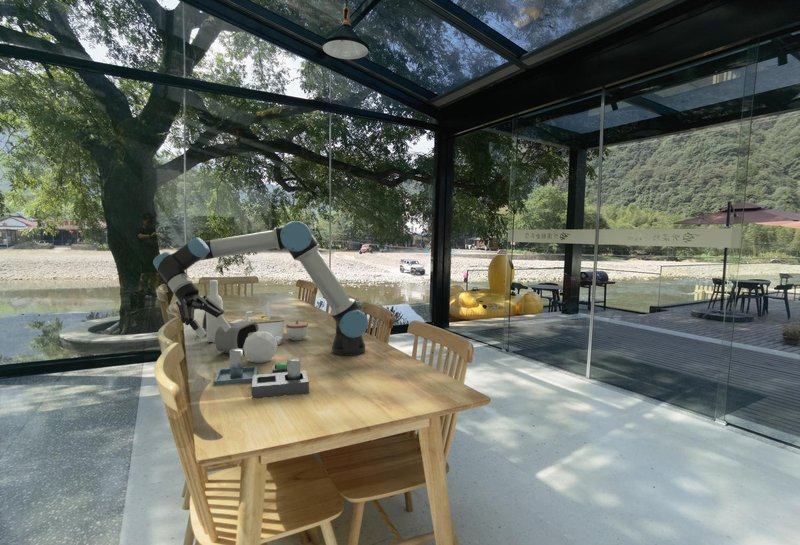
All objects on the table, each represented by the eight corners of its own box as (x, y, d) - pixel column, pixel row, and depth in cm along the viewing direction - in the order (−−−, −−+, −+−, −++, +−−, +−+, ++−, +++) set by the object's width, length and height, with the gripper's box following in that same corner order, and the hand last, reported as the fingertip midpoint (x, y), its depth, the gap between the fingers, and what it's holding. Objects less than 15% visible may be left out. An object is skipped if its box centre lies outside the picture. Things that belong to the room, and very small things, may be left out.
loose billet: (243, 374, 156) (242, 348, 155) (242, 378, 152) (242, 351, 151) (230, 375, 155) (230, 349, 154) (229, 379, 150) (229, 352, 150)
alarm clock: (235, 357, 181) (234, 326, 180) (215, 355, 182) (214, 325, 181) (259, 344, 201) (259, 317, 200) (241, 343, 203) (240, 316, 201)
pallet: (305, 381, 152) (305, 370, 151) (308, 393, 140) (308, 381, 140) (253, 386, 146) (253, 374, 146) (252, 399, 135) (251, 386, 135)
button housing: (291, 373, 160) (291, 362, 160) (292, 379, 154) (292, 368, 153) (272, 374, 158) (272, 364, 158) (272, 380, 152) (272, 370, 151)
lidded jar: (305, 341, 208) (305, 322, 207) (283, 341, 208) (283, 322, 207) (310, 336, 218) (310, 318, 217) (289, 336, 218) (289, 318, 218)
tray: (257, 371, 162) (257, 365, 162) (256, 383, 149) (256, 377, 148) (218, 374, 158) (218, 368, 158) (213, 387, 145) (213, 381, 144)
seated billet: (300, 385, 148) (299, 357, 147) (301, 390, 143) (300, 361, 142) (287, 386, 146) (286, 358, 145) (287, 391, 142) (287, 362, 141)
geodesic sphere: (240, 357, 161) (261, 326, 166) (229, 349, 172) (248, 320, 176) (269, 373, 169) (288, 343, 174) (257, 364, 180) (275, 336, 184)
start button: (288, 369, 159) (288, 361, 158) (288, 373, 155) (288, 365, 154) (276, 370, 157) (275, 362, 157) (276, 374, 153) (276, 366, 153)
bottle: (205, 343, 202) (203, 281, 200) (207, 339, 210) (206, 279, 207) (223, 342, 204) (221, 281, 202) (225, 338, 212) (223, 279, 209)
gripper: (164, 283, 144) (199, 332, 141) (212, 280, 169) (243, 321, 166) (150, 297, 146) (184, 345, 143) (201, 292, 170) (231, 333, 167)
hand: (216, 332), depth 154 cm, fingers open, 13 cm apart
